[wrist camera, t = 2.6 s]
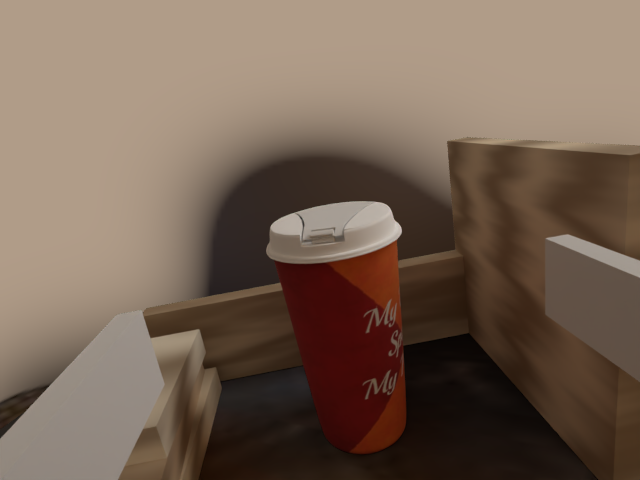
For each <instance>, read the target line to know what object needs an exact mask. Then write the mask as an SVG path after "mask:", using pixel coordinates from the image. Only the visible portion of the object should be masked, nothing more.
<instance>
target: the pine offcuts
mask: <svg viewBox="0 0 640 480" xmlns="http://www.w3.org/2000/svg"><path fill="white" fill-rule="evenodd" d="M150 339H151V342H152V345H153V349H154V352H155V355H156V358H157V361H158V365H159V368H160V371H161V374H162V377H163V381H164V384H165V385H164V387H163V389H162V391H161V393H160V395H159V397H158V399H157V401H156V403H155V405H154V407H153V409H152V411H151V413H150V415H149V417H148V420H147V422H146V424H145V426H144V428H143V430H142V432H141V434H140V436H139V438H138V440H137V442H136V444H135V446H134V448H133V450H132V452H131V454H130V456H129V458H128V460H127V462H126V464H125V466H124V468H123V470H122V472H121V474H120V477H119V479H118V480H199V476H200V472H201V468H202V464H203V461H204V457H205V453H206V449H207V445H208V441H209V437H210V433H211V429H212V425H213V421H214V418H215V414H216V410H217V406H218V402H219V398H220V394H221V390H222V386H221V383H220V379H219V376H218V372H217V369H216V367H214V368H209V369H204V367H203V364H202V362H203V359H204V356H205V354H206V351H205V347H204V344H203V340H202V337H201V333H200V330H199V329H197V330H192V331H187V332H181V333H176V334H171V335H166V336H160V337H155V338H150Z"/></svg>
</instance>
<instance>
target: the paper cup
mask: <svg viewBox="0 0 640 480" xmlns="http://www.w3.org/2000/svg"><path fill="white" fill-rule="evenodd" d="M401 232H402V230H401V227H400V226H399V224H398V223H397V222H396V221H394V219H393V214H392V211H391V209H390V208H389V206H387V205H386V204H383V203H379V202H364V201H363V202H362V201H360V202H344V203H336V204H329V205H323V206H318V207H314V208H310V209H306V210H302V211H299V212H295V213H293V214H289V215H287V216H285V217H282V218H280V219H279V220H277V221H275V222H274V223H273V224H272V225H271V228H270V242H269V244H268V246H267V249H266V253H267V255H268V256H269V257H270V258H271V259H273V260H274V261H275V265H276V268H277V272H278V276H279V279H280V283H281V286H282V290H283V294H284V297H285V301H286V304H287V308H288V312H289V315H290V319H291V322H292V326H293V330H294V333H295V337H296V341H297V344H298V348H299V351H300V355H301V358H302V362H303V366H304V369H305V373H306V376H307V380H308V383H309V387H310V390H311V394H312V397H313V401H314V404H315V408H316V411H317V414H318V418H319V421H320V424H321V427H322V430H323V433H324V435H325V437H326V439H327V440H328V441H329V442H330V443H331V444H332V445H333V446H334V447H336V448H337V449H339V450H341V451H344V452H347V453H351V454H371V453H375V452H379V451H381V450H384V449H386V448H388V447H389V446H391V445H392V444H394V443H395V442H396V441H397V440H398V439H399V438H400V437H401V435H402V433H403V432H404V429H405V426H406V390H405V371H404V353H403V336H402V320H401V304H400V287H399V271H398V255H397V238H399V236H400V235H401Z"/></svg>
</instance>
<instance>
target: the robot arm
mask: <svg viewBox="0 0 640 480" xmlns="http://www.w3.org/2000/svg"><path fill="white" fill-rule="evenodd" d="M545 315H547V316H548V317H549V318H551V319H552V320H554V321H555V322H556V323H558V324H559V325H561V326H562V327H563V328H565V329H566V330H568V331H569V332H570V333H572V334H573V335H575V336H576V337H577V338H579V339H580V340H582V341H583V342H584V343H586V344H587V345H589V346H590V347H591V348H593V349H594V350H596V351H597V352H598V353H600V354H601V355H603V356H604V357H605V358H607V359H608V360H610V361H611V362H612V363H614V364H615V365H617V366H618V367H620V368H621V369H622V370H624V371H625V372H627V373H628V374H629V375H631V376H632V377H634V378H635V379H636V380H638V381H639V382H640V261H639V260H636V259H634V258H631V257H628V256H626V255H623V254H620V253H617V252H615V251H612V250H609V249H607V248H604V247H601V246H598V245H596V244H593V243H590V242H588V241H585V240H582V239H579V238H577V237H574V236H571V235H568V234H567V235H561V236H556V237H550V238H545ZM164 385H165V384H164V381H163V377H162V374H161V371H160V368H159V365H158V361H157V358H156V355H155V352H154V349H153V345H152V342H151V339H150V336H149V332H148V329H147V326H146V323H145V320H144V316H143V313H142V310H139V311H133V312H129V313H122V314H118V315H116V316H115V317H114V318H113V319H112V321H111V322H110V323H109V324H108V325H107V326H106V327H105V328H104V329H103V330H102V331H101V332H100V333H99V334H98V336H97V337H95V339H94V340H93V341H92V342H91V343H90V344H89V345H88V346H87V347H86V348H85V349H84V350H83V351H82V353H80V354H79V356H78V357H77V358H76V359H75V360H74V361H73V362H72V363H71V364H70V365H69V366H68V367H67V368H66V370H64V372H63V373H62V374H61V375H60V376H59V377H58V378H57V379H56V380H55V381H54V382H53V383H52V384H51V385H50V386H49V387H48V388H47V390H46V391H45V392H44V393H43V394H42V395H41V396H40V397H39V398H38V399H37V400H36V401H35V402H34V403H33V404H32V406H31V407H30V408H29V409H28V410H27V411H26V412H25V413H23V414H21V415H20V416H18V417H17V418H16V419H14V420H13V421H11V422H10V423H9V424H7V425H6V426H5V427H3V428H2V429H0V480H118V479H119V477H120V474H121V472H122V470H123V468H124V466H125V464H126V462H127V460H128V458H129V456H130V454H131V452H132V450H133V448H134V446H135V444H136V442H137V440H138V438H139V436H140V434H141V432H142V430H143V428H144V426H145V424H146V422H147V420H148V417H149V415H150V413H151V411H152V409H153V407H154V405H155V403H156V401H157V399H158V397H159V395H160V393H161V391H162V389H163V387H164Z"/></svg>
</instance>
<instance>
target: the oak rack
mask: <svg viewBox="0 0 640 480" xmlns="http://www.w3.org/2000/svg"><path fill="white" fill-rule="evenodd" d="M447 144H448V157H449V170H450V183H451V196H452V209H453V221H454V234H455V247H456V250H453V251H448V252H443V253H437V254H431V255H427V256H421V257H416V258H410V259H405V260H400V261H398V271H399V287H400V304H401V320H402V336H403V346H405V345H410V344H415V343H420V342H425V341H430V340H435V339H441V338H446V337H451V336H456V335H461V334H466V333H469V334H470V335H471V336H472V337H473V338H474V339H475V341H476V342H477V343H478V344H479V345H480V346H481V347H482V348H483V350H484V351H485V352H486V353H487V354H488V355H489V356H490V358H491V359H492V360H493V361H494V362H495V363H496V364H497V365H498V367H499V368H500V369H501V370H502V371H503V372H504V373H505V375H506V376H507V377H508V378H509V379H510V380H511V381H512V382H513V384H514V385H515V386H516V387H517V388H518V389H519V390H520V392H521V393H522V394H523V395H524V396H525V397H526V398H527V399H528V401H529V402H530V403H531V404H532V405H533V406H534V407H535V409H536V410H537V411H538V412H539V413H540V414H541V415H542V416H543V418H544V419H545V420H546V421H547V422H548V423H549V424H550V426H551V427H552V428H553V429H554V430H555V431H556V432H557V433H558V435H559V436H560V437H561V438H562V439H563V440H564V441H565V442H566V444H567V445H568V446H569V447H570V448H571V449H572V450H573V452H574V453H575V454H576V455H577V456H578V457H579V458H580V459H581V461H582V462H583V463H584V464H585V465H586V466H587V467H588V469H589V470H590V471H591V472H592V473H593V474H594V475H595V476H596V478H597V479H598V480H640V382H639V381H638V380H636V379H635V378H634V377H632V376H631V375H629V374H628V373H627V372H625V371H624V370H622V369H621V368H620V367H618V366H617V365H615V364H614V363H612V362H611V361H610V360H608V359H607V358H605V357H604V356H603V355H601V354H600V353H598V352H597V351H596V350H594V349H593V348H591V347H590V346H589V345H587V344H586V343H584V342H583V341H582V340H580V339H579V338H577V337H576V336H575V335H573V334H572V333H570V332H569V331H568V330H566V329H565V328H563V327H562V326H561V325H559V324H558V323H556V322H555V321H554V320H552V319H551V318H549V317H548V316H547V315H545V238H550V237H556V236H561V235H567V234H568V235H571V236H574V237H577V238H579V239H582V240H585V241H588V242H590V243H593V244H596V245H598V246H601V247H604V248H607V249H609V250H612V251H615V252H617V253H620V254H623V255H626V256H628V257H631V258H634V259H636V260H639V261H640V146H635V145H615V144H594V143H573V142H572V143H571V142H553V141H531V140H512V139H511V140H510V139H491V138H471V137H467V138H461V139H455V140H451V141H447ZM143 316H144V320H145V323H146V326H147V329H148V332H149V336H150V338H155V337H160V336H166V335H171V334H176V333H181V332H187V331H192V330H197V329H199V330H200V333H201V337H202V340H203V344H204V347H205V351H206V354H205V356H204V359H203V362H202V364H203V367H204V369H209V368H214V367H216V369H217V372H218V376H219V379H220V381H225V380H230V379H235V378H240V377H245V376H250V375H256V374H261V373H266V372H271V371H276V370H281V369H286V368H292V367H297V366H302V365H303V362H302V358H301V355H300V351H299V348H298V344H297V341H296V337H295V333H294V330H293V326H292V322H291V319H290V315H289V312H288V308H287V304H286V301H285V297H284V294H283V290H282V286H281V283H278V284H273V285H267V286H262V287H256V288H251V289H246V290H241V291H235V292H230V293H225V294H220V295H214V296H209V297H203V298H199V299H193V300H188V301H182V302H177V303H172V304H166V305H161V306H156V307H150V308H147V309H146V310H145V311H144V312H143Z"/></svg>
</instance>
